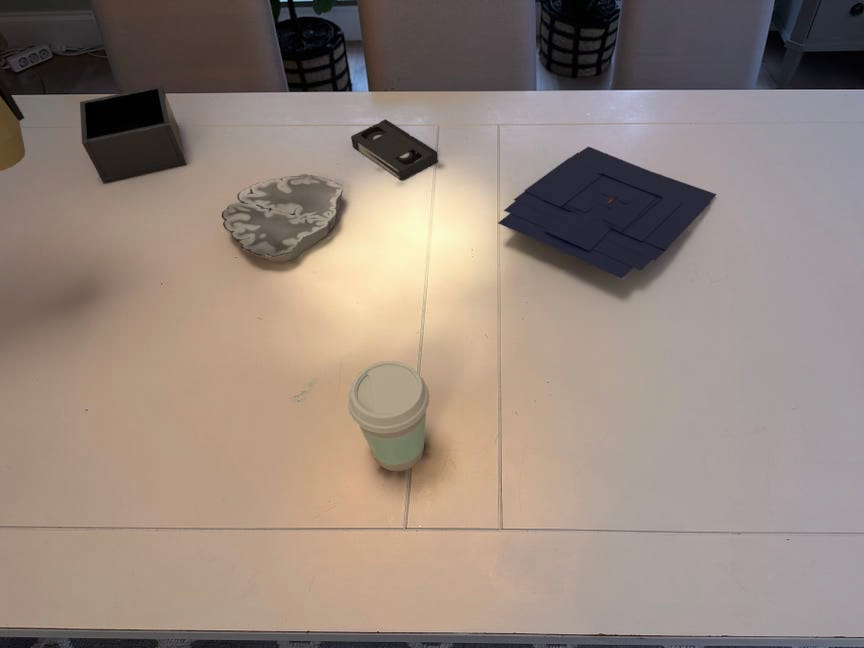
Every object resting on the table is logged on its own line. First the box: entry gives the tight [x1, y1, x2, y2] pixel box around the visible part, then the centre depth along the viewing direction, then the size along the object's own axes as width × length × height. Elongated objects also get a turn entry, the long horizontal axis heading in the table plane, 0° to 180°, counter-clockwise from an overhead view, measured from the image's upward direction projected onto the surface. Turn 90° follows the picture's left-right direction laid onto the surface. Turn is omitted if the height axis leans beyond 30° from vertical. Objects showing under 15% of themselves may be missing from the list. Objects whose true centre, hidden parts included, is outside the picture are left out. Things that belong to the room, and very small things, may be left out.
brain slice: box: [221, 173, 344, 262], centre depth 104 cm, size 20×17×3 cm
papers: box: [497, 146, 717, 280], centre depth 104 cm, size 24×30×4 cm
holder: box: [79, 85, 187, 185], centre depth 116 cm, size 14×14×8 cm
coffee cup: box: [347, 360, 430, 472], centre depth 74 cm, size 8×8×12 cm
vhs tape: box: [350, 119, 439, 181], centre depth 117 cm, size 14×8×2 cm, turn 43°
